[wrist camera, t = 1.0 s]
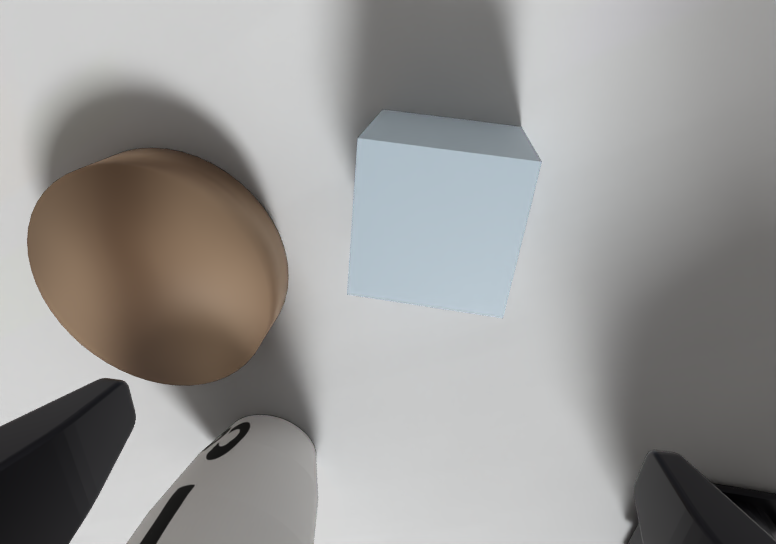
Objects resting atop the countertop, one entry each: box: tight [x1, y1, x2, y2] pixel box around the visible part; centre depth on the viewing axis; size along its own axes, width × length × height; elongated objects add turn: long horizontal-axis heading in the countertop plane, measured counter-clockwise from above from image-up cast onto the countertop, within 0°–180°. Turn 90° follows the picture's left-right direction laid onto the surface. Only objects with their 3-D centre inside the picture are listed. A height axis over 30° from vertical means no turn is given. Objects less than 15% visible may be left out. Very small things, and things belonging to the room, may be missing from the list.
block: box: [347, 109, 542, 318], centre depth 17 cm, size 5×5×5 cm
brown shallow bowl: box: [27, 148, 288, 385], centre depth 21 cm, size 10×10×2 cm
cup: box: [127, 415, 318, 544], centre depth 22 cm, size 8×8×10 cm
